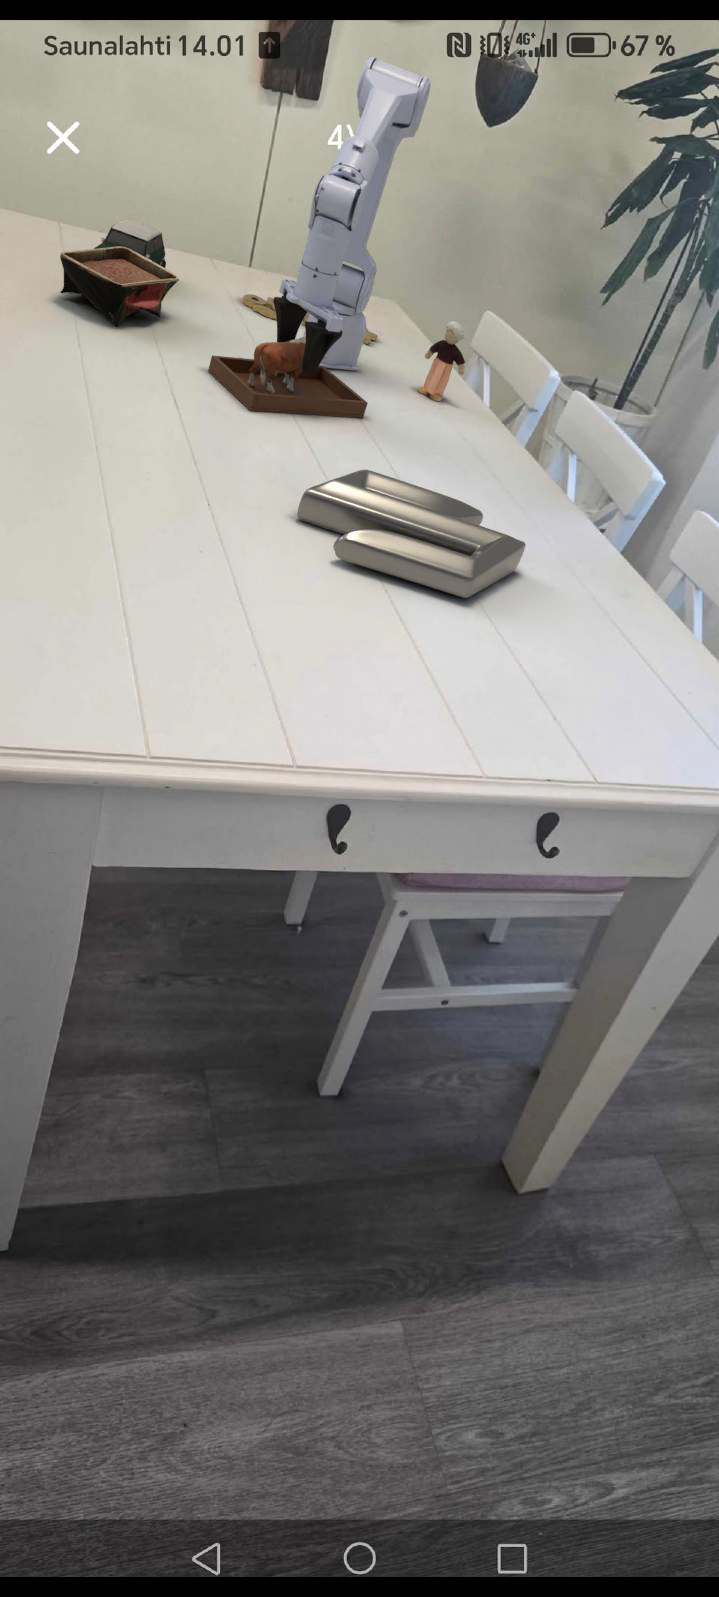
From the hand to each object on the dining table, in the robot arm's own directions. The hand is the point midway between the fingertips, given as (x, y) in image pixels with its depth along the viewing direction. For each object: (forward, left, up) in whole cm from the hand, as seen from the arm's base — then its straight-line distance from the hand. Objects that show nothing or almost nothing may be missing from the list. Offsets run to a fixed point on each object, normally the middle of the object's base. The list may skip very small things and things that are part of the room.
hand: (295, 359), depth 182 cm
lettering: (-25, -34, -6) cm, 43 cm away
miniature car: (+6, -46, -6) cm, 47 cm away
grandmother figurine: (-32, -4, -6) cm, 33 cm away
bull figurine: (+1, -1, -5) cm, 5 cm away
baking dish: (+16, -29, -6) cm, 34 cm away
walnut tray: (0, 0, -5) cm, 5 cm away
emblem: (+8, +45, -6) cm, 46 cm away
